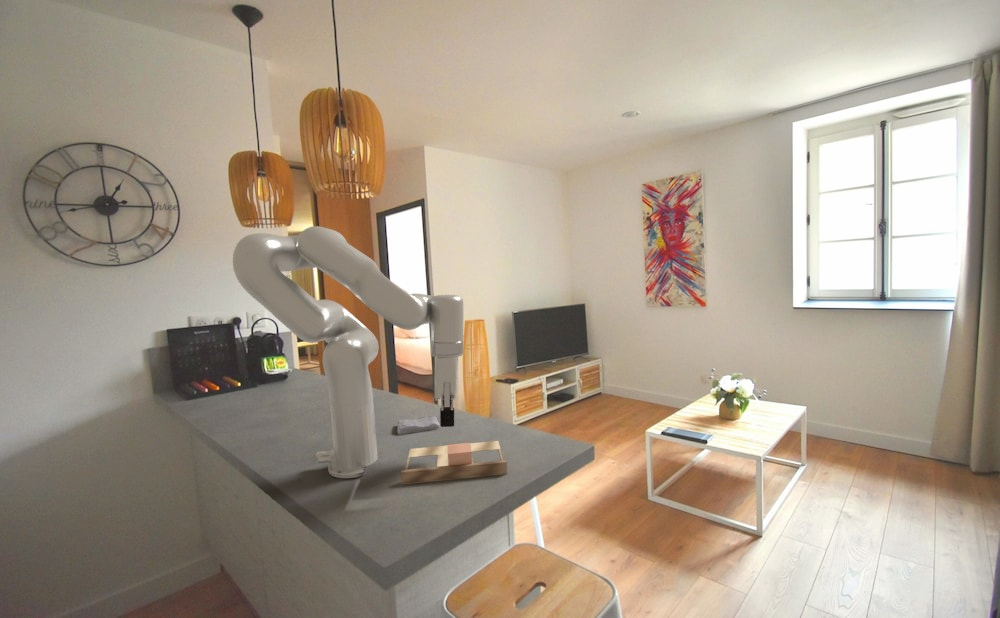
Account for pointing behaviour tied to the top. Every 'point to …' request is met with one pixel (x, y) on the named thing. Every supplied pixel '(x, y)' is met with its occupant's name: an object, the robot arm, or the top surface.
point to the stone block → (417, 425)
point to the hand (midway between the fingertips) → (447, 425)
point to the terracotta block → (459, 454)
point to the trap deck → (453, 470)
